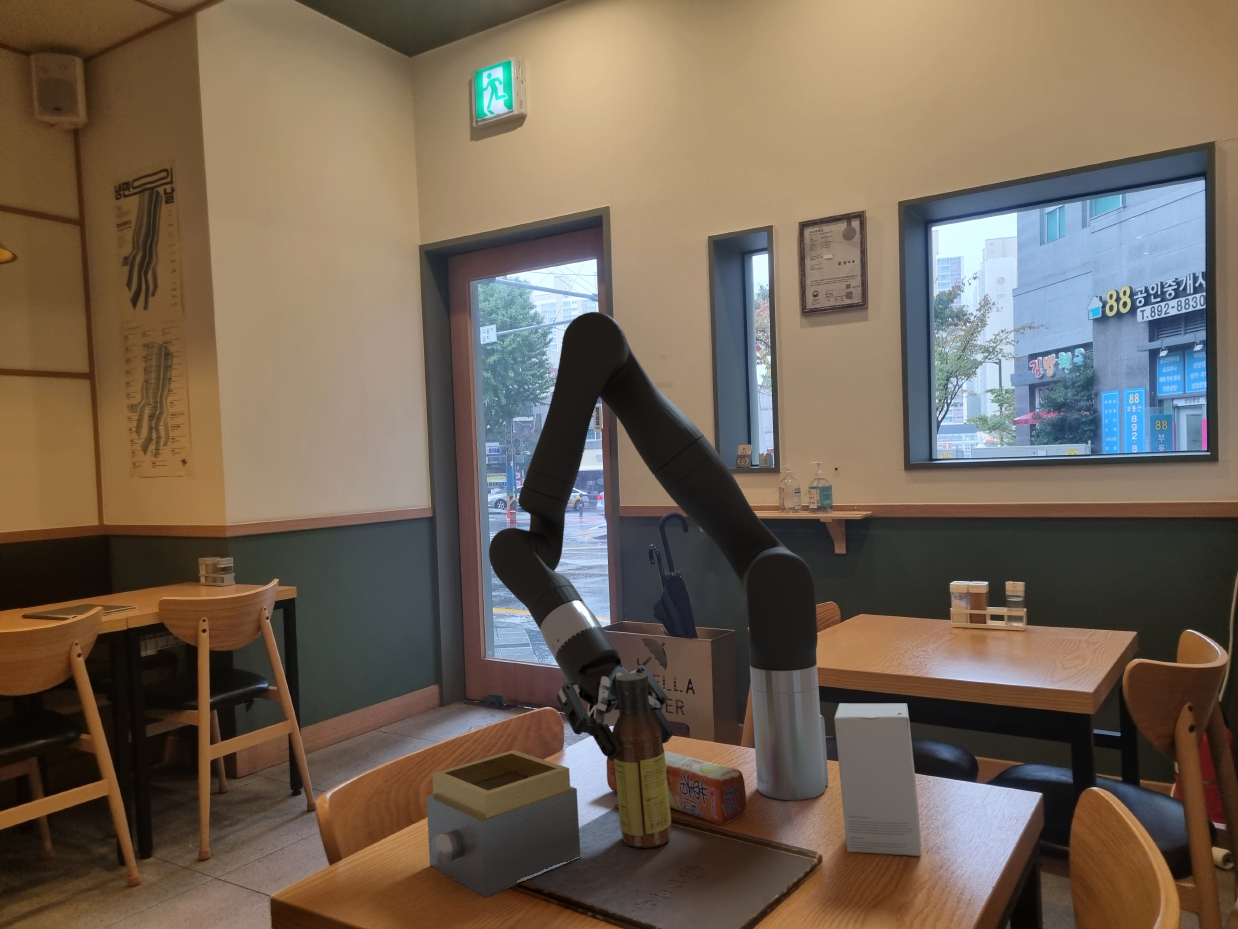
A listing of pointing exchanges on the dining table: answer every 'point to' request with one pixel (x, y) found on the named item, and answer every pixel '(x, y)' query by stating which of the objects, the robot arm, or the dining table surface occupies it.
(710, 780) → the snack package
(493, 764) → the box
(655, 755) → the sauce bottle
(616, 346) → the robot arm
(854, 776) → the skincare box
